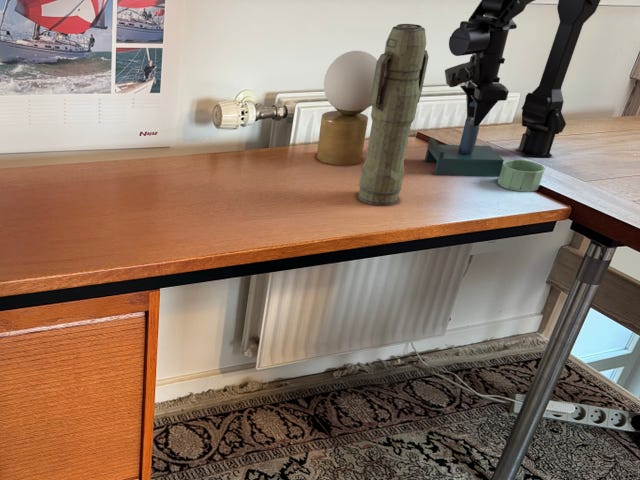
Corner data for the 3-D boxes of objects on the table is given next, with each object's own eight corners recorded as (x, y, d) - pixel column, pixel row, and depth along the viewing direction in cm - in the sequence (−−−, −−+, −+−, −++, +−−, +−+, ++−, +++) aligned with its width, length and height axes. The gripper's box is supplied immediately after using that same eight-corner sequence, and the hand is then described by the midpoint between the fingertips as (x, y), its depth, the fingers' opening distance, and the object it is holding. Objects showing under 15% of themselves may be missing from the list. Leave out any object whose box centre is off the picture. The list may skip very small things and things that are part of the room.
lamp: (328, 144, 187) (342, 43, 173) (379, 153, 180) (397, 49, 166) (303, 158, 177) (315, 53, 163) (356, 169, 170) (373, 60, 156)
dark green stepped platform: (485, 161, 175) (491, 139, 172) (499, 176, 166) (505, 153, 163) (424, 160, 176) (429, 138, 173) (435, 174, 167) (440, 152, 164)
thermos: (343, 197, 155) (370, 25, 135) (381, 187, 160) (412, 20, 140) (373, 210, 149) (405, 32, 129) (411, 199, 154) (447, 26, 134)
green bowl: (530, 178, 165) (536, 160, 162) (544, 192, 157) (550, 172, 155) (493, 178, 165) (498, 159, 163) (505, 191, 158) (510, 171, 155)
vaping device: (468, 148, 171) (480, 98, 164) (473, 155, 166) (486, 103, 160) (457, 148, 171) (469, 97, 164) (462, 155, 167) (475, 103, 160)
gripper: (442, 43, 164) (428, 111, 173) (464, 60, 149) (447, 133, 158) (490, 43, 163) (474, 112, 172) (518, 60, 148) (498, 134, 157)
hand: (472, 122), depth 165 cm, fingers closed on vaping device, 5 cm apart
